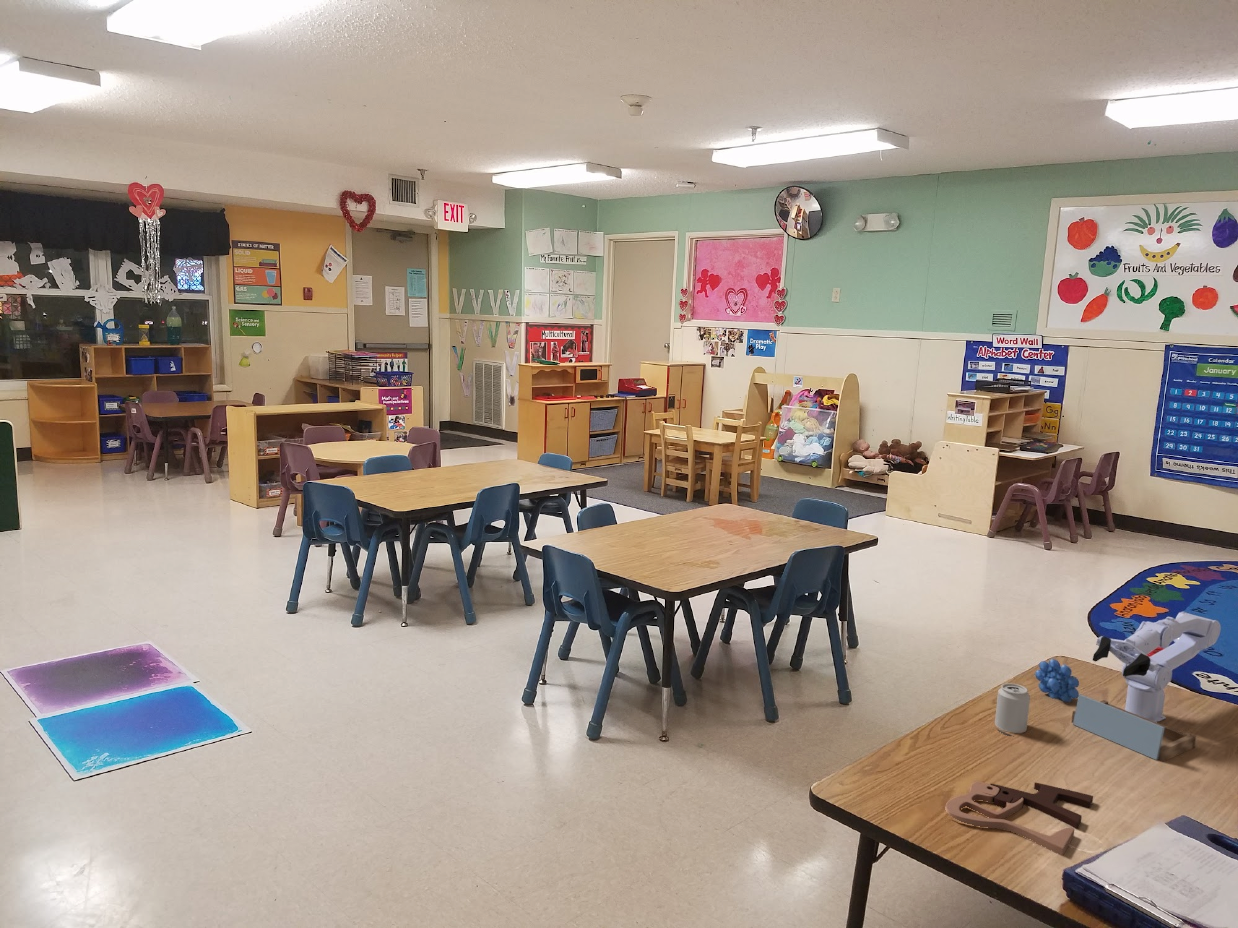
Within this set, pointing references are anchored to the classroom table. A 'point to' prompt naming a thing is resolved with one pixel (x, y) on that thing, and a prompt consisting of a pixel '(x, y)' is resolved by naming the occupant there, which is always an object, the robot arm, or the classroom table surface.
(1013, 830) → the wood carving
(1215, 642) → the robot arm
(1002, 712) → the can
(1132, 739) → the panel
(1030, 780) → the classroom table surface
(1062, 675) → the grapes
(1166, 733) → the tray
